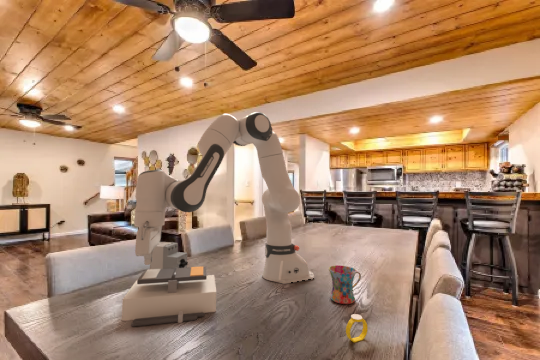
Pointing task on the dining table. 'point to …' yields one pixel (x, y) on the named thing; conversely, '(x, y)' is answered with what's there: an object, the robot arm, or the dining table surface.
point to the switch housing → (169, 298)
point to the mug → (343, 284)
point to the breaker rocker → (172, 275)
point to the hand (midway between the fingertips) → (148, 263)
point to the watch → (348, 328)
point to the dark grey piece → (167, 319)
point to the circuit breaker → (168, 257)
